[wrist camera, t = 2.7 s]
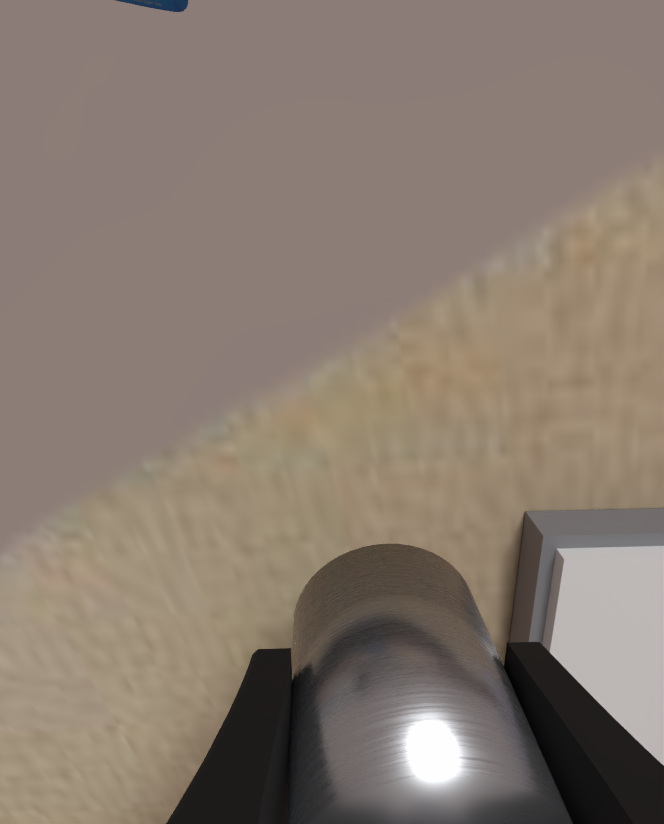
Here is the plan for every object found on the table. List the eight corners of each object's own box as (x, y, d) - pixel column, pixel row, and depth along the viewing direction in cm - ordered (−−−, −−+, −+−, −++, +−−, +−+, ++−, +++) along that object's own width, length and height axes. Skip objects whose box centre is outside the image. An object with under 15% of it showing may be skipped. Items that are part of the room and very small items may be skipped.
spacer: (481, 541, 11) (604, 766, 7) (467, 687, 13) (561, 963, 8) (290, 546, 11) (279, 781, 7) (296, 694, 13) (289, 980, 8)
